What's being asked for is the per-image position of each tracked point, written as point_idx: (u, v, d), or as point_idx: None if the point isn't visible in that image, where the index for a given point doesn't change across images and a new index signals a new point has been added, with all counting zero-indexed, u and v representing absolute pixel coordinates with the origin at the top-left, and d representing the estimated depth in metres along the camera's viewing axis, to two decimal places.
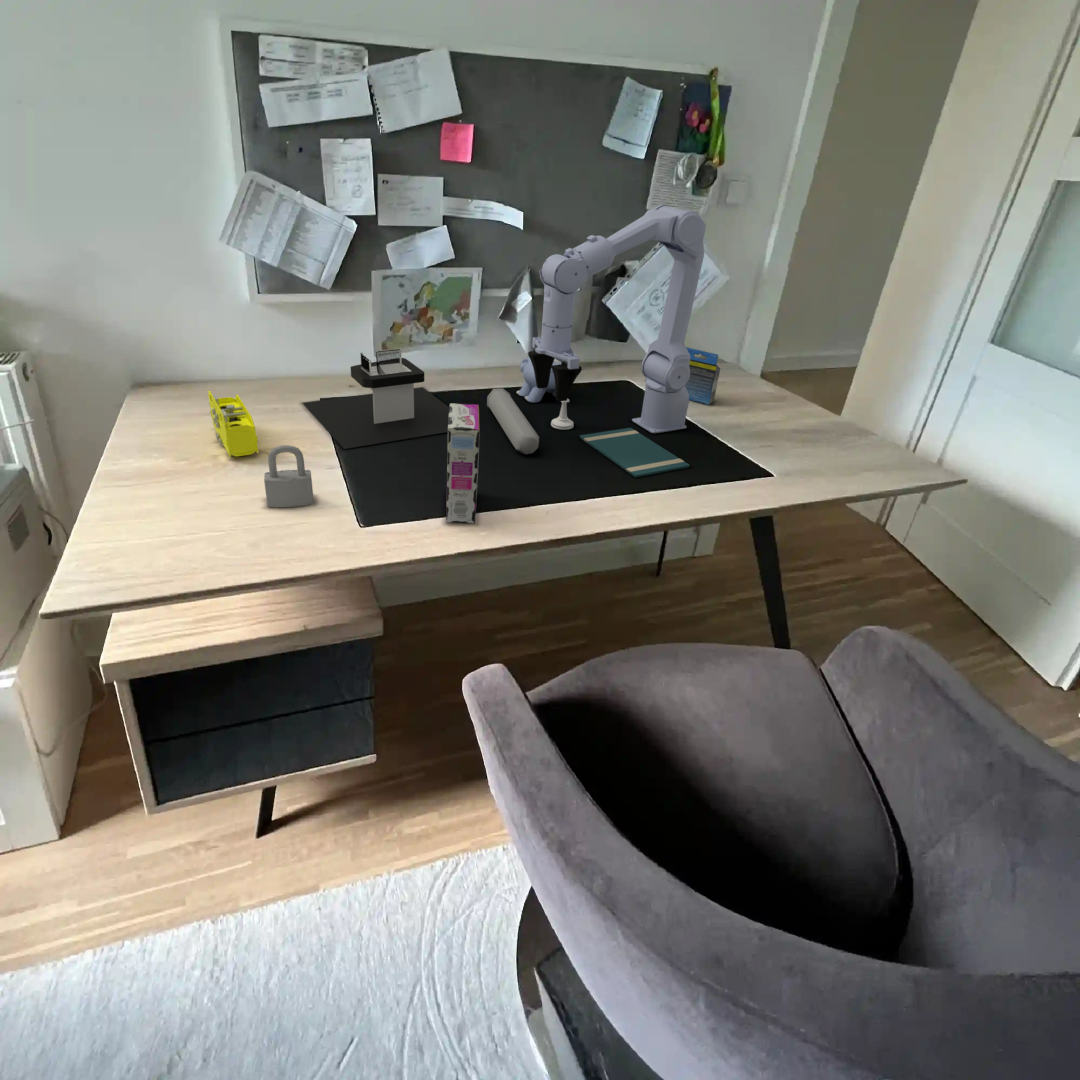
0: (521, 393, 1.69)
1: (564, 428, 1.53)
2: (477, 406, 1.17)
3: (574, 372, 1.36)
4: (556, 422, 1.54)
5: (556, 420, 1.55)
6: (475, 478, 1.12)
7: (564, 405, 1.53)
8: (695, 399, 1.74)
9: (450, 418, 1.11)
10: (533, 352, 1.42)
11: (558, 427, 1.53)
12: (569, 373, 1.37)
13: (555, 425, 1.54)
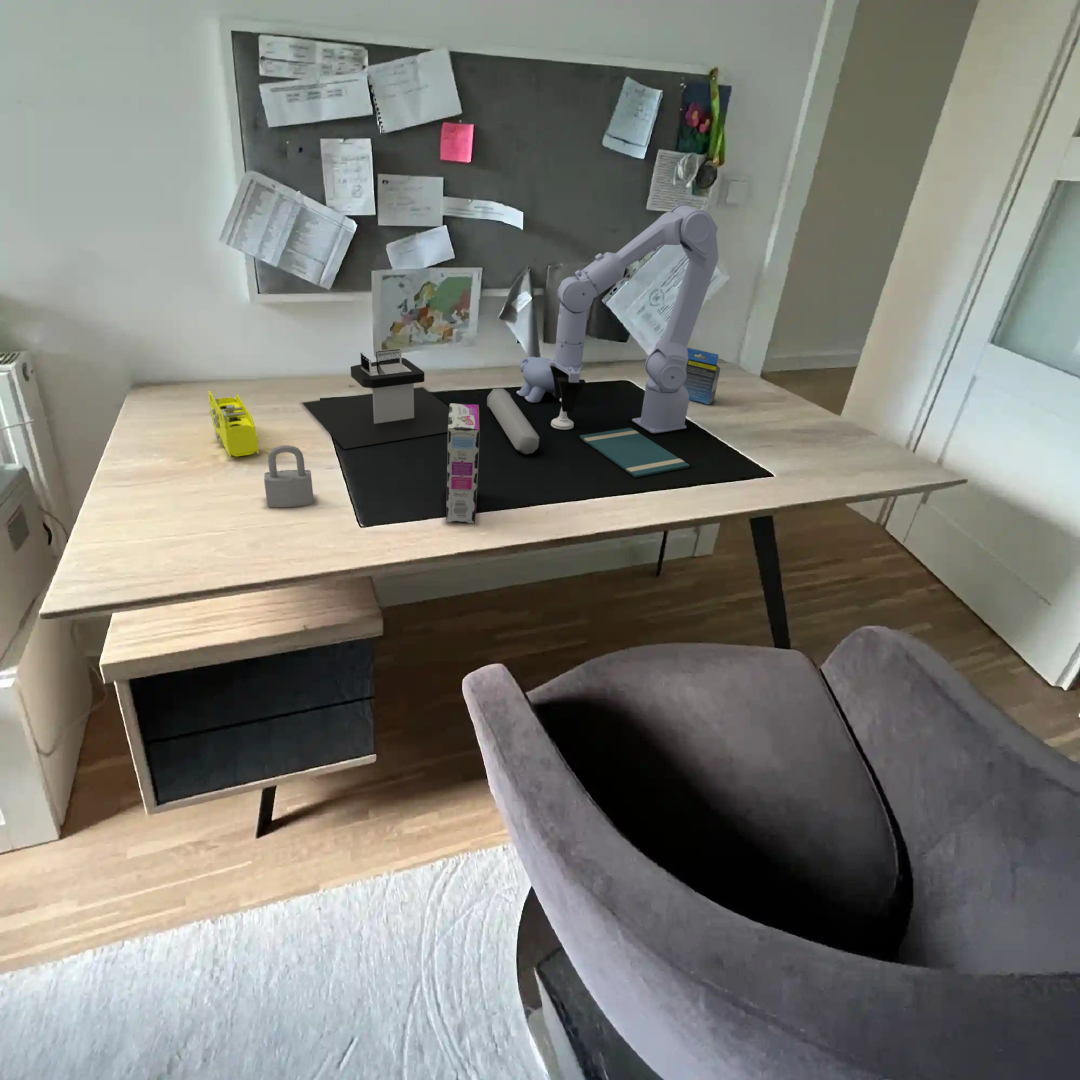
0: (521, 393, 1.69)
1: (564, 428, 1.53)
2: (477, 406, 1.17)
3: (577, 386, 1.46)
4: (556, 422, 1.54)
5: (556, 420, 1.55)
6: (475, 478, 1.12)
7: None
8: (695, 399, 1.74)
9: (450, 418, 1.11)
10: None
11: (558, 427, 1.53)
12: (574, 386, 1.47)
13: (555, 425, 1.54)
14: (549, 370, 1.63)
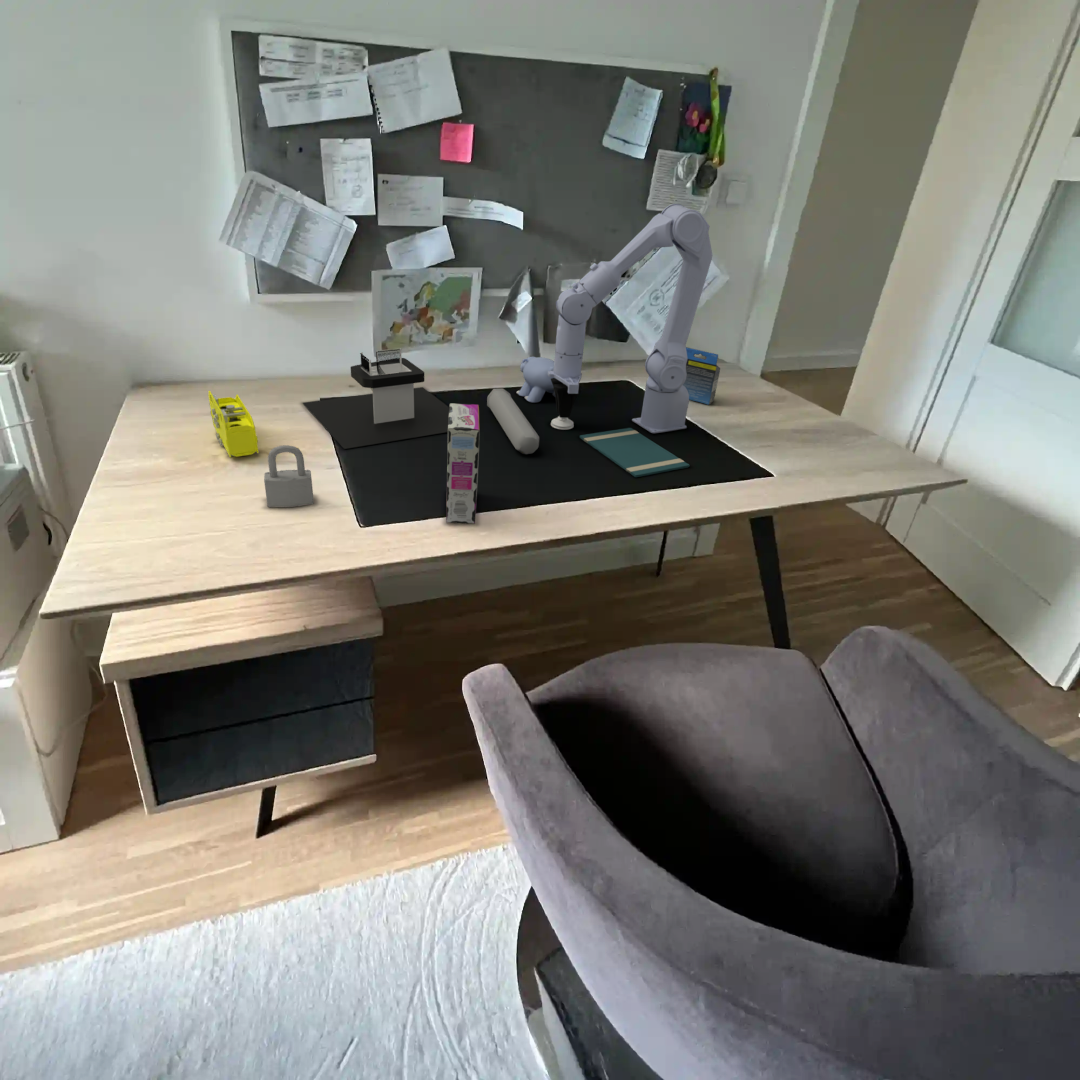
0: (521, 393, 1.69)
1: (564, 428, 1.53)
2: (477, 406, 1.17)
3: None
4: (556, 422, 1.54)
5: (556, 420, 1.55)
6: (475, 478, 1.12)
7: None
8: (695, 399, 1.74)
9: (450, 418, 1.11)
10: (555, 379, 1.53)
11: (558, 427, 1.53)
12: (571, 393, 1.50)
13: (555, 425, 1.54)
14: (549, 370, 1.63)
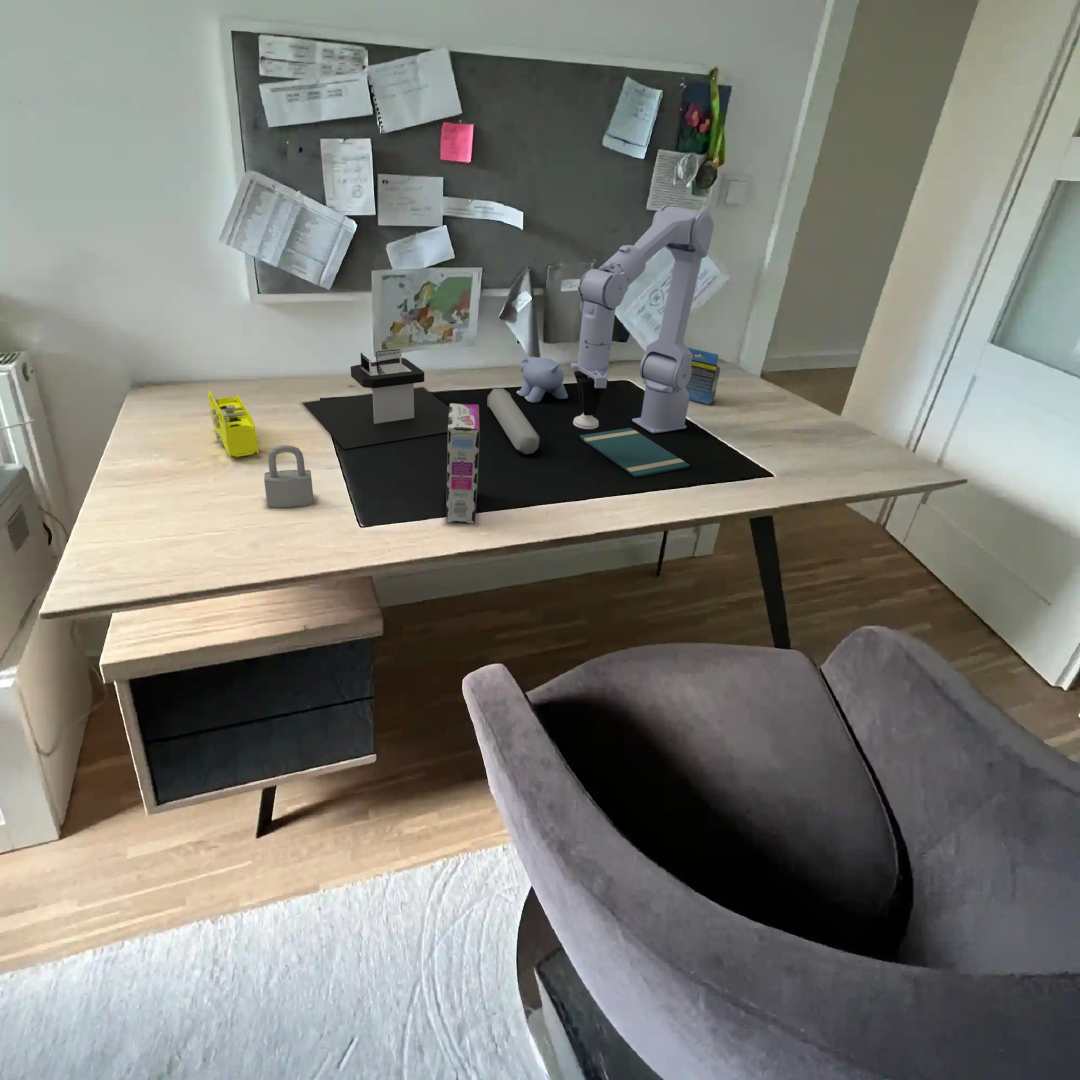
0: (521, 393, 1.69)
1: (588, 427, 1.37)
2: (477, 406, 1.17)
3: None
4: (579, 420, 1.37)
5: (579, 418, 1.38)
6: (475, 478, 1.12)
7: None
8: (695, 399, 1.74)
9: (450, 418, 1.11)
10: (579, 372, 1.36)
11: (581, 426, 1.37)
12: (597, 387, 1.33)
13: (578, 424, 1.37)
14: (549, 370, 1.63)
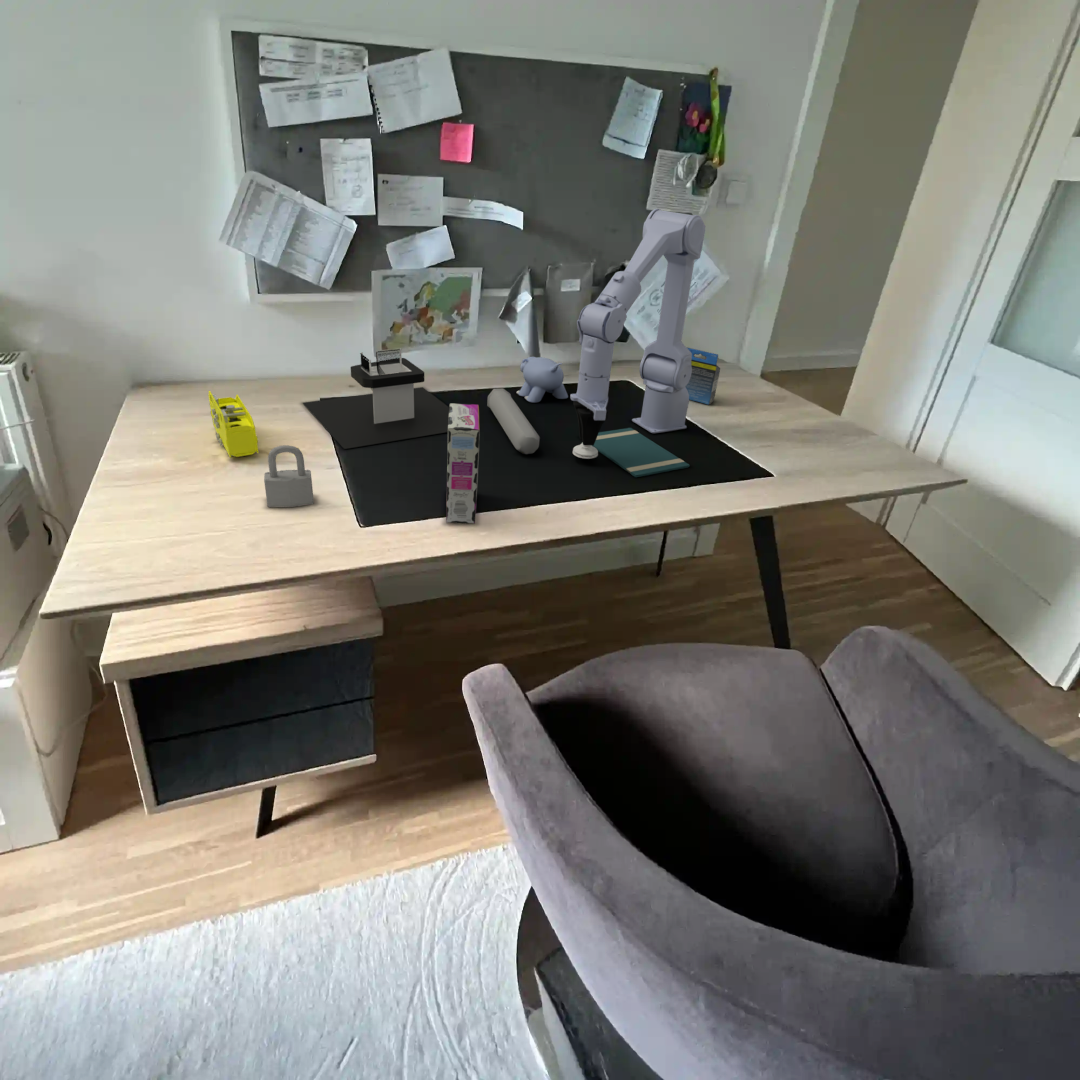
0: (521, 393, 1.69)
1: (587, 457, 1.38)
2: (477, 406, 1.17)
3: None
4: (578, 450, 1.39)
5: (578, 448, 1.39)
6: (475, 478, 1.12)
7: None
8: (695, 399, 1.74)
9: (450, 418, 1.11)
10: (578, 402, 1.37)
11: (581, 456, 1.38)
12: None
13: (577, 454, 1.38)
14: (549, 370, 1.63)
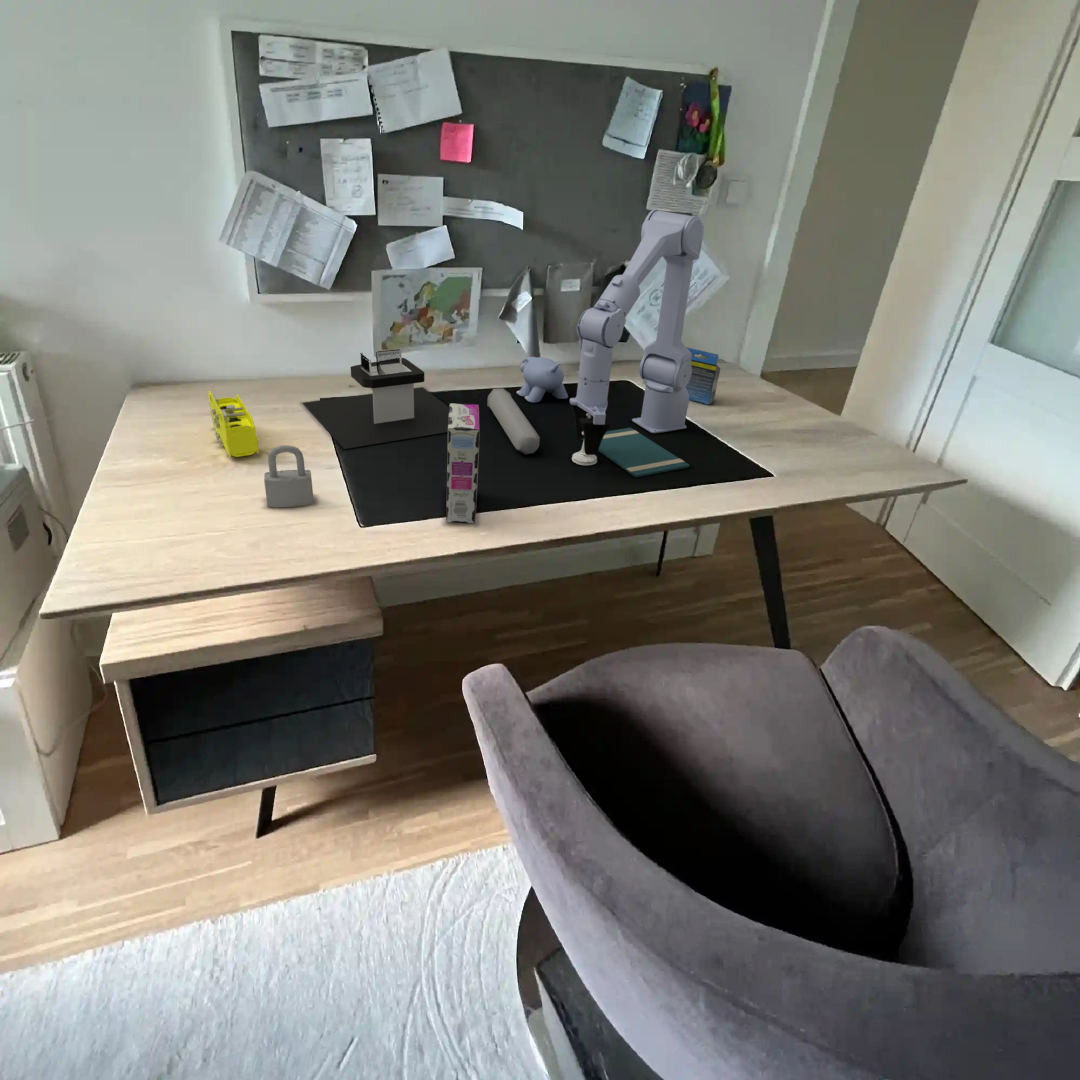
0: (521, 393, 1.69)
1: (587, 464, 1.39)
2: (477, 406, 1.17)
3: (602, 427, 1.32)
4: (577, 457, 1.39)
5: (578, 455, 1.40)
6: (475, 478, 1.12)
7: None
8: (695, 399, 1.74)
9: (450, 418, 1.11)
10: None
11: (580, 463, 1.39)
12: (599, 428, 1.33)
13: (577, 460, 1.39)
14: (549, 370, 1.63)
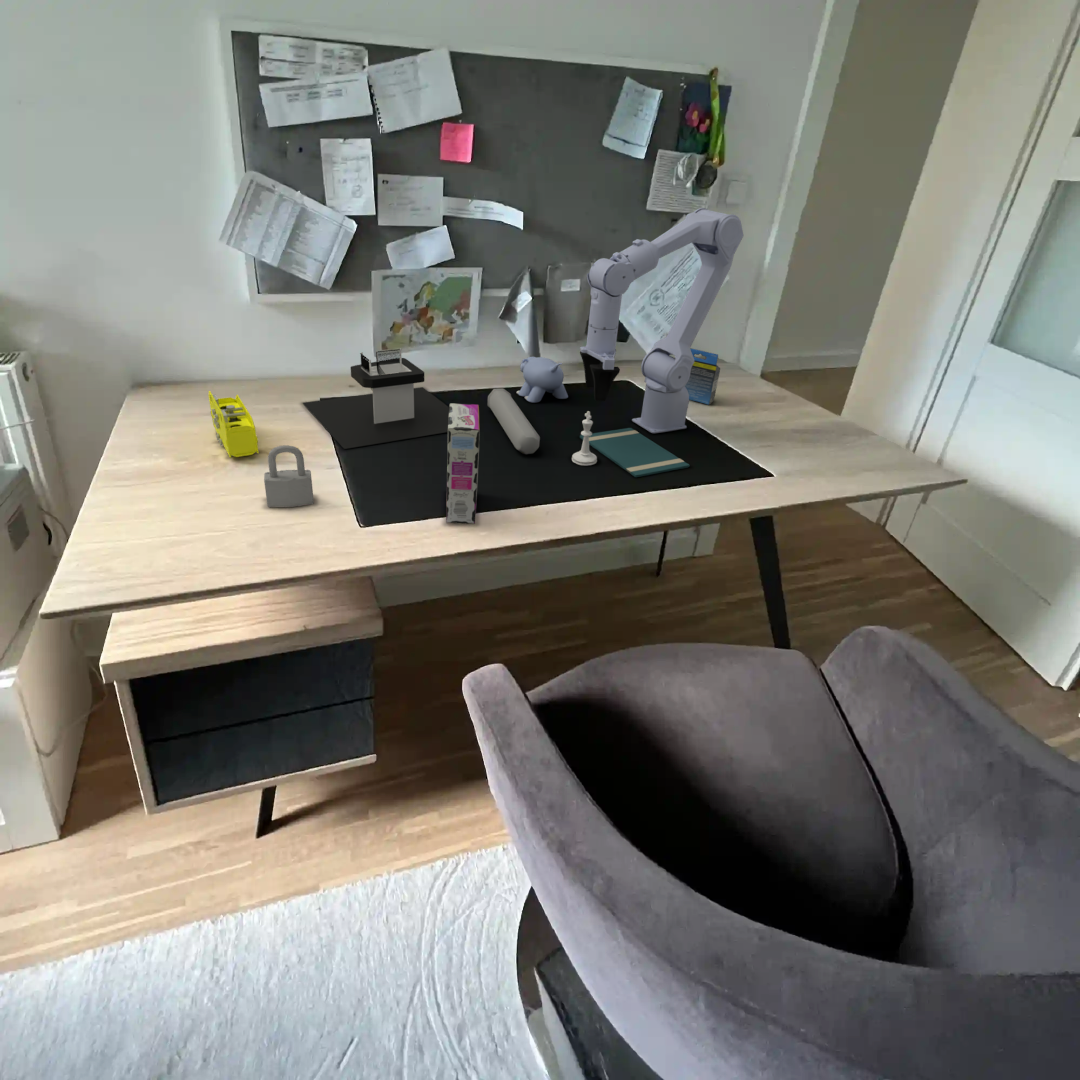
0: (521, 393, 1.69)
1: (586, 464, 1.39)
2: (477, 406, 1.17)
3: (611, 373, 1.39)
4: (577, 457, 1.39)
5: (577, 455, 1.40)
6: (475, 478, 1.12)
7: (586, 439, 1.38)
8: (695, 399, 1.74)
9: (450, 418, 1.11)
10: None
11: (580, 463, 1.39)
12: (608, 374, 1.41)
13: (576, 461, 1.39)
14: (549, 370, 1.63)
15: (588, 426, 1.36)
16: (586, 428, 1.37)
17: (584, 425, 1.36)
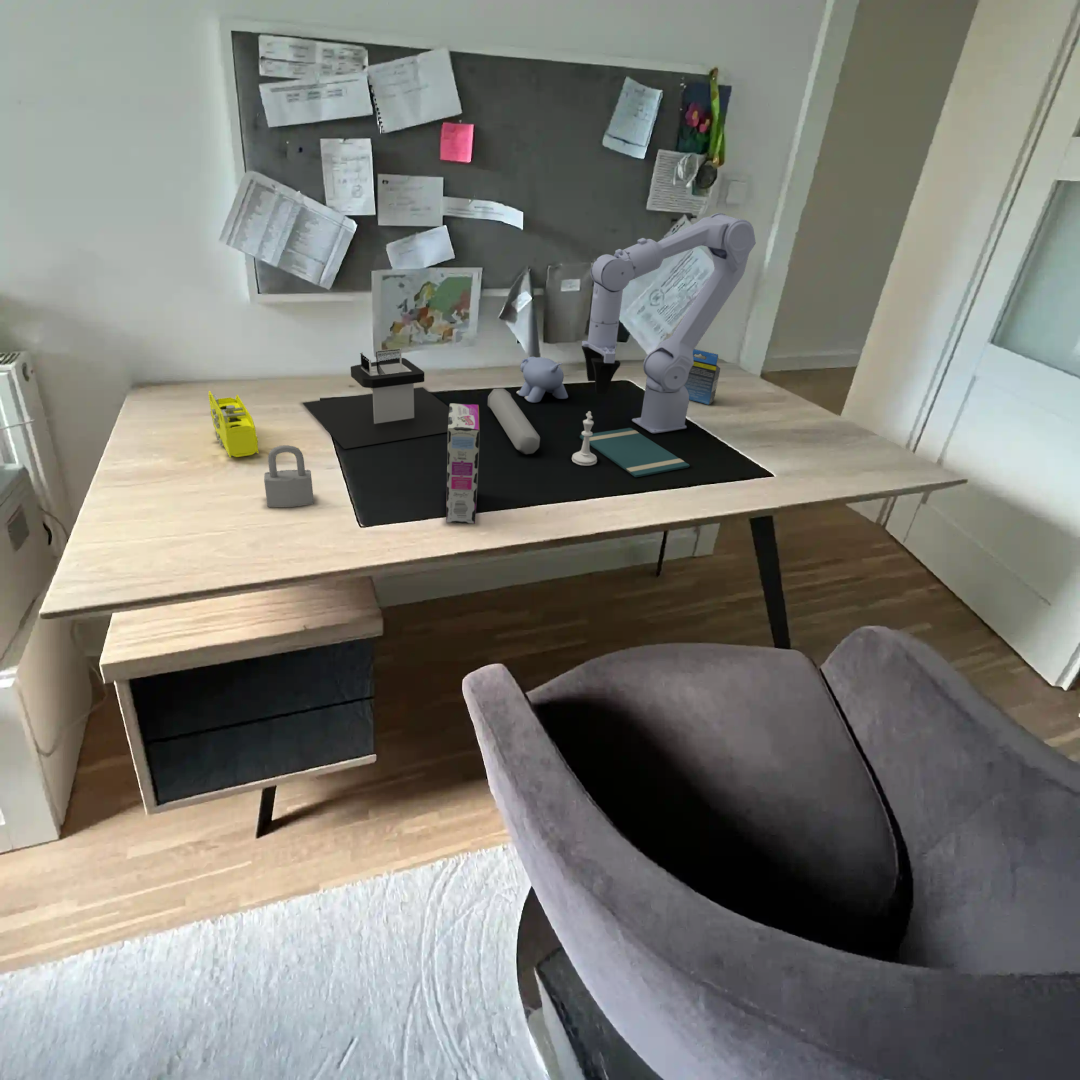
0: (521, 393, 1.69)
1: (586, 464, 1.39)
2: (477, 406, 1.17)
3: (612, 367, 1.43)
4: (577, 457, 1.39)
5: (577, 455, 1.40)
6: (475, 478, 1.12)
7: (586, 439, 1.38)
8: (695, 399, 1.74)
9: (450, 418, 1.11)
10: None
11: (579, 463, 1.39)
12: (609, 368, 1.44)
13: (576, 460, 1.39)
14: (549, 370, 1.63)
15: (588, 426, 1.36)
16: (587, 428, 1.37)
17: (585, 425, 1.36)
